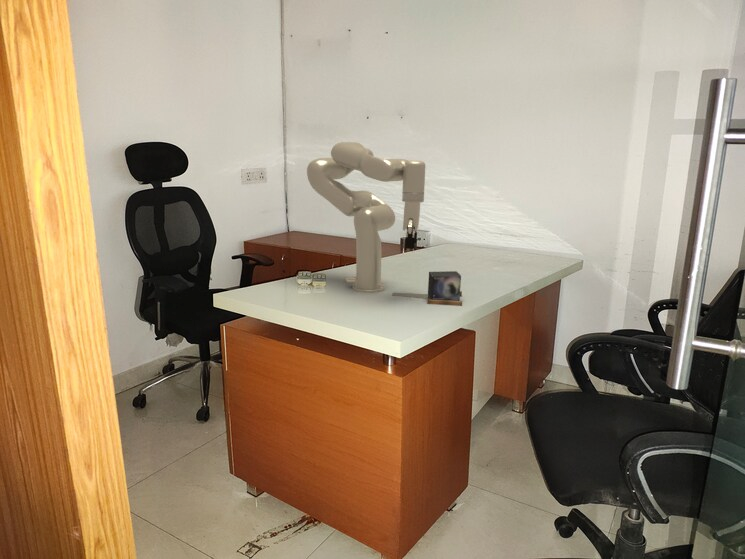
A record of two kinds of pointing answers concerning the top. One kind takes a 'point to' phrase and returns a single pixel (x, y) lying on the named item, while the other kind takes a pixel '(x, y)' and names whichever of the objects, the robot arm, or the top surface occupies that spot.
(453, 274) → the small box
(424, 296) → the rubber mat
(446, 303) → the brown open frame
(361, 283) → the robot arm
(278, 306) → the top surface
